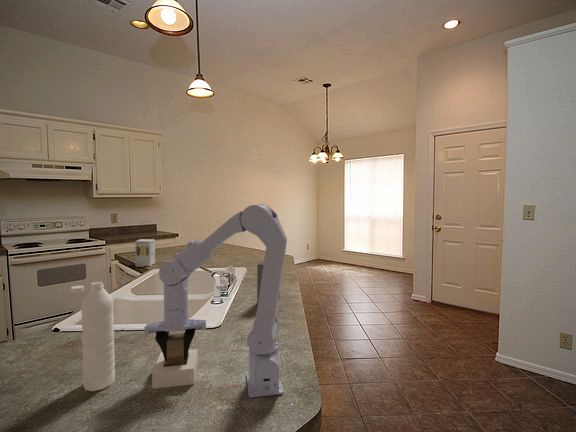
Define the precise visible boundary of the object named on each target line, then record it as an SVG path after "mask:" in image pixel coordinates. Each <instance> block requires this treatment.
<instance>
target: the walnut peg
mask: <svg viewBox="0 0 576 432" xmlns="http://www.w3.org/2000/svg"><path fill="white" fill-rule="evenodd" d="M184 333H185V332H180V333H169V337H168V339H167V367H169V366H179V365H185V364H186V360H184Z"/></svg>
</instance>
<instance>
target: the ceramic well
mask: <svg viewBox="0 0 576 432" xmlns="http://www.w3.org/2000/svg"><path fill="white" fill-rule="evenodd" d="M198 351H199V350H198V348H194V349H191V348H190V349H189V350H188V357H187V359H186V364H185V365H179V366H169V367H167V361H165V360H164V355H163V352H162V351H161V352H160V353H159V356H158V358H157V361H156V362H155V365H154V368H153V369H152V372H151V377H152V378H151V379H152V380H151V382H152V386H151V387H152V390H155V389H156V390H157V389H165V388H172V387H173V388H174V387H183V386H192V385H194V384H195V381H196V374H197V368H198V363H199V361H198V360H199V358H198V357H199V356H198V355H199V354H198V353H199V352H198Z"/></svg>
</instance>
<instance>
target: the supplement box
mask: <svg viewBox="0 0 576 432" xmlns="http://www.w3.org/2000/svg"><path fill="white" fill-rule="evenodd" d="M134 244H135V250H134V253H135V254H134V257H135V262H134V263H135V265H134V266H135V267H136V268H137V267H139V268H140V267H141V268H142V267H143V268H145V267H144V266H150V267H152V266H153V265H152V264H154V263H155V264H156V239H154V238H153V239H152V238H151V239H148V238H145V239H143V238H141V239H138V240H135V243H134ZM155 264H154V265H155ZM151 265H152V266H151Z"/></svg>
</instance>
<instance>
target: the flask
mask: <svg viewBox="0 0 576 432" xmlns="http://www.w3.org/2000/svg"><path fill="white" fill-rule="evenodd" d="M256 266H257V268H256V271H257V273H256V276H257V277H256V282H257V283H256V284H257V285H256V288H257V289H256V304H257V305H258V301H259V294H260V287H261V280H262V273H263V266H264V261H262V262H258V263H257V265H256ZM280 293H281V292H280V291H279V298H280V297H281V294H280Z"/></svg>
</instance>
